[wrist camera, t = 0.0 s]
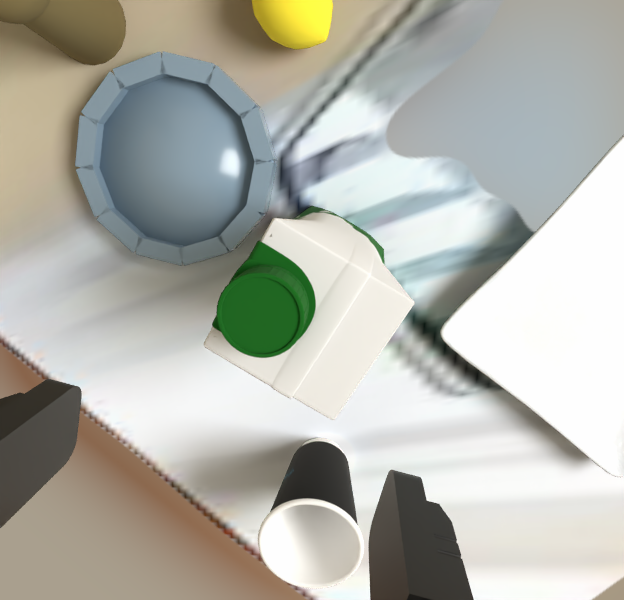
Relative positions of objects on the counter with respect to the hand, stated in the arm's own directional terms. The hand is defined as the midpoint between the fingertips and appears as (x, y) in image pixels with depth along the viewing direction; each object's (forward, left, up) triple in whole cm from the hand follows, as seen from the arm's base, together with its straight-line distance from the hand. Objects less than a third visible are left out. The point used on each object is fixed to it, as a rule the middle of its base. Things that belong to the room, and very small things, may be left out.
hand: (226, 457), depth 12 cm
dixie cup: (+19, +5, -30) cm, 35 cm away
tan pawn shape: (-14, -22, -30) cm, 39 cm away
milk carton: (0, +1, -30) cm, 30 cm away
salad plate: (-2, +25, -30) cm, 39 cm away
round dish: (-5, -13, -29) cm, 32 cm away
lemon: (-18, -6, -30) cm, 35 cm away
